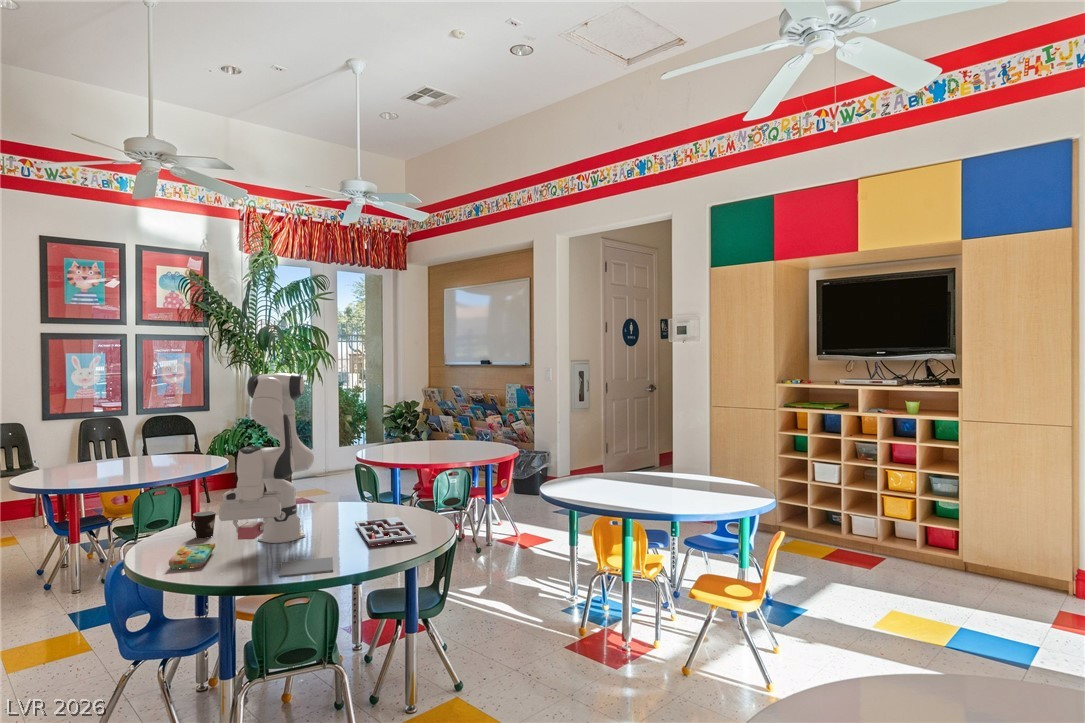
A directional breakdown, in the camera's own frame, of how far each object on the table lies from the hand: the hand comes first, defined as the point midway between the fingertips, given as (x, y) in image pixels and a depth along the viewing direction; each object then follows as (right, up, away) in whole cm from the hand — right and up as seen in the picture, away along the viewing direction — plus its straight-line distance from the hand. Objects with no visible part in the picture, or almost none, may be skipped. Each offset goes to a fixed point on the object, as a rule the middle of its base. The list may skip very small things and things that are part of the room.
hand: (250, 531), depth 231 cm
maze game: (+35, -15, +50) cm, 63 cm away
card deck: (0, -2, 0) cm, 2 cm away
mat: (+18, -15, +6) cm, 24 cm away
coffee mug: (-42, -15, +47) cm, 65 cm away
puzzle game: (-28, -16, +14) cm, 35 cm away
